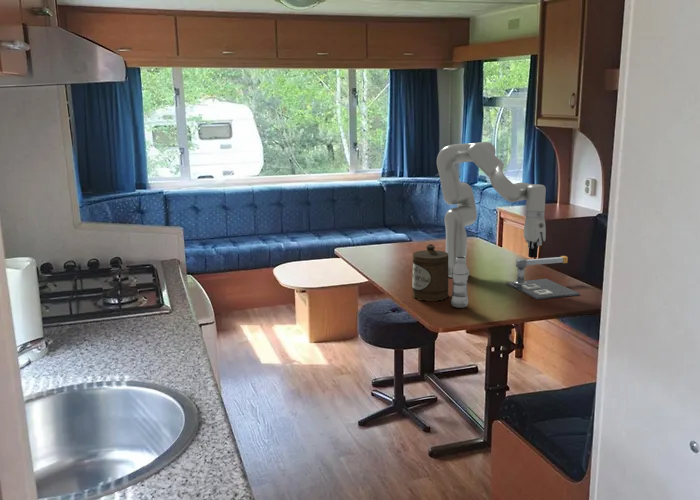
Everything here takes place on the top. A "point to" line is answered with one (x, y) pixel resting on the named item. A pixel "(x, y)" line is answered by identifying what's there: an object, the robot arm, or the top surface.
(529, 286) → the label plate
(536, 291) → the label plate
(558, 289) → the board
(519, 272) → the grey metal rounded piece
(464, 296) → the plastic bottle
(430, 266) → the wooden container
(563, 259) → the bar
